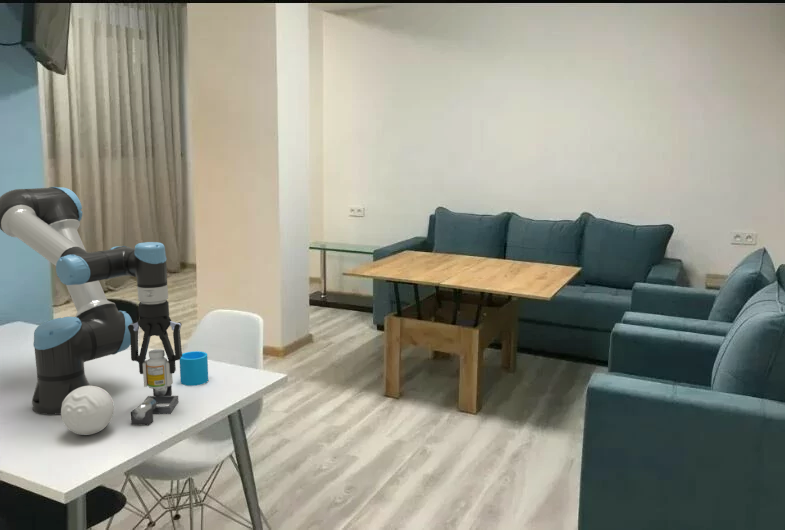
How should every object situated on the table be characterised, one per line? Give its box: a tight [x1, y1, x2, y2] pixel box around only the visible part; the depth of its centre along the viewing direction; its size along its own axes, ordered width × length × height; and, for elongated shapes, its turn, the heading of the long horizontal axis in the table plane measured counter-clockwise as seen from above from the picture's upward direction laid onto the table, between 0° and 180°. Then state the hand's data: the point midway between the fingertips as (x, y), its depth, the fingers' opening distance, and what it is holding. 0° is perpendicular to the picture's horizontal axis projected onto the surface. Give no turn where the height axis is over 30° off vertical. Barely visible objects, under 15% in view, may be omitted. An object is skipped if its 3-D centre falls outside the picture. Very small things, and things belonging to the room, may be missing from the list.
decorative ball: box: [60, 385, 115, 436], centre depth 167 cm, size 12×12×12 cm
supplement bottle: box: [146, 349, 168, 390], centre depth 182 cm, size 5×5×10 cm
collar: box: [144, 395, 179, 415], centre depth 184 cm, size 8×8×2 cm
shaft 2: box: [152, 385, 173, 396], centre depth 191 cm, size 7×5×5 cm
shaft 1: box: [129, 398, 158, 426], centre depth 176 cm, size 7×5×5 cm
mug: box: [178, 350, 209, 387], centre depth 206 cm, size 12×8×8 cm
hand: (158, 384), depth 183 cm, fingers closed on supplement bottle, 5 cm apart
